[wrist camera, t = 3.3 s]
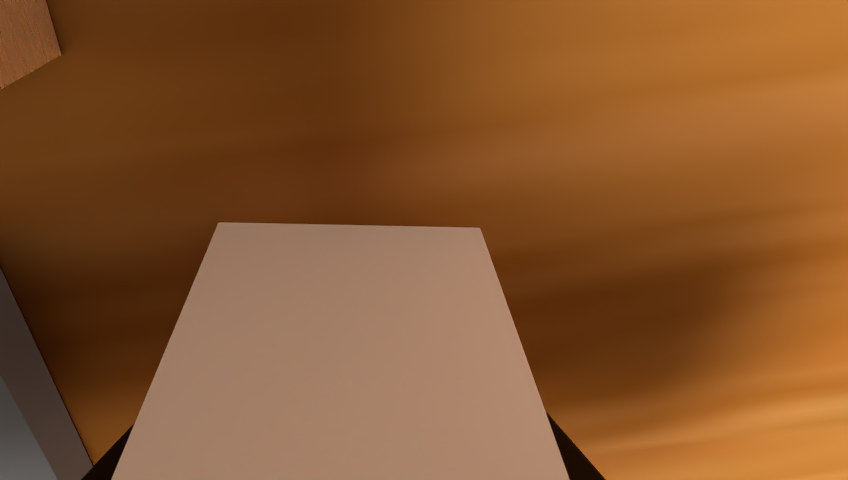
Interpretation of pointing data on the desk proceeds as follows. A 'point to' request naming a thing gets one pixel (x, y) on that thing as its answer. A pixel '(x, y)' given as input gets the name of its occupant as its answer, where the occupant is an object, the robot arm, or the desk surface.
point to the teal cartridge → (343, 364)
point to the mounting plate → (32, 408)
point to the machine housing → (25, 38)
